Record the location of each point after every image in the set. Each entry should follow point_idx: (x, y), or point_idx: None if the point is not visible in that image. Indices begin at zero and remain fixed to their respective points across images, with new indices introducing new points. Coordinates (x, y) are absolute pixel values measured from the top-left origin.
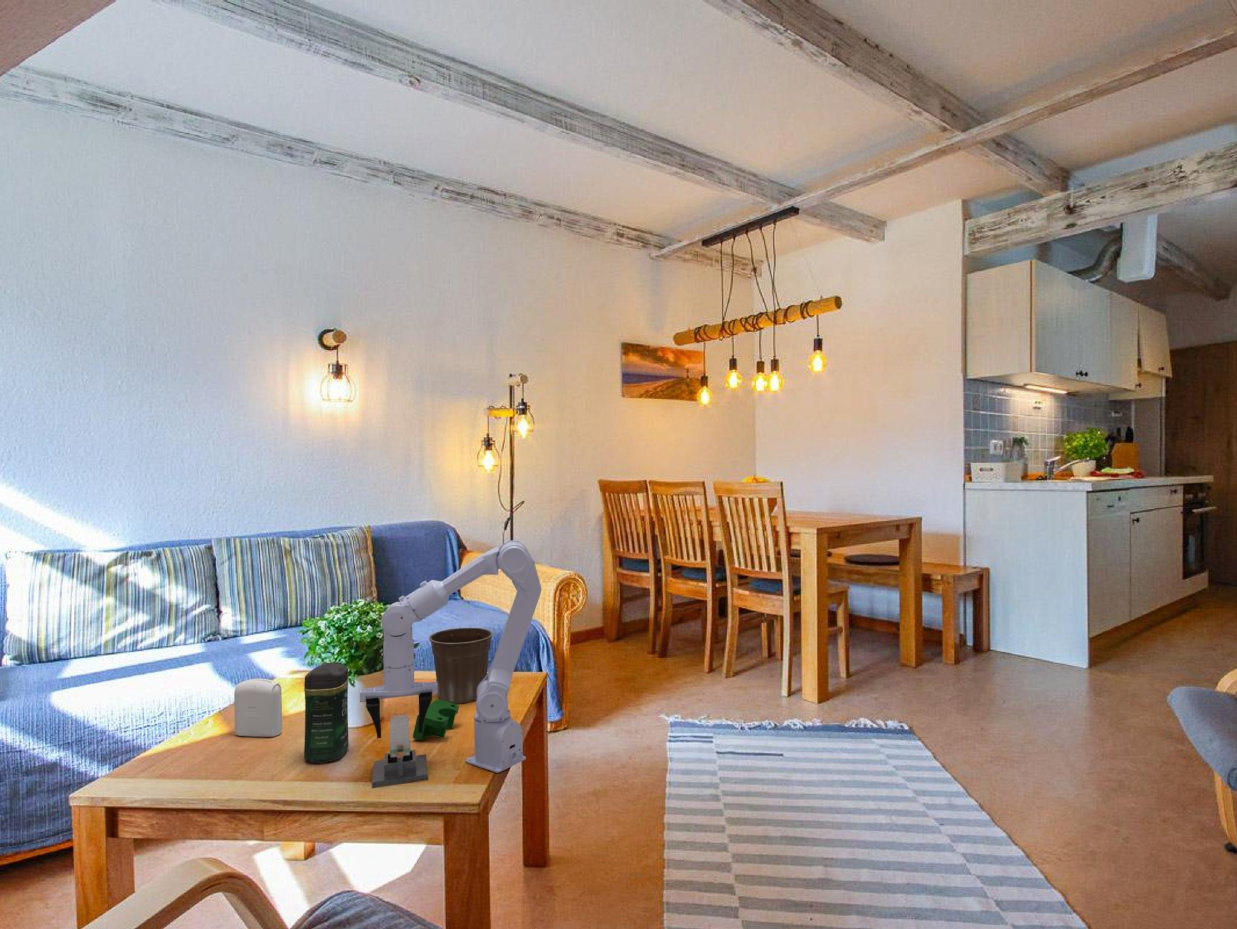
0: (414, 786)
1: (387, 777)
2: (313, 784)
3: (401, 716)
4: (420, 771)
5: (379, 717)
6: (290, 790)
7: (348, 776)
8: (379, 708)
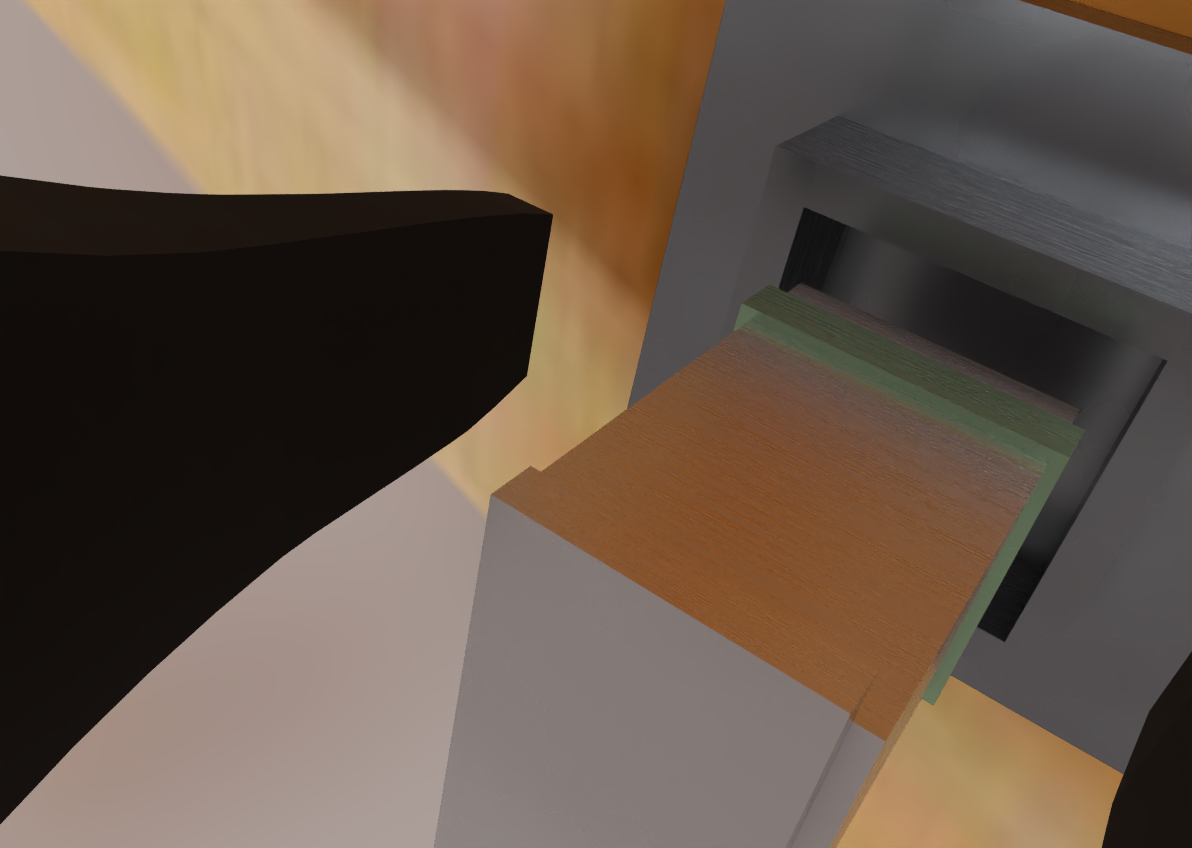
0: (958, 733)
1: None
2: (263, 15)
3: (670, 699)
4: (1107, 656)
5: (213, 611)
6: (146, 20)
7: (503, 36)
8: (47, 661)
